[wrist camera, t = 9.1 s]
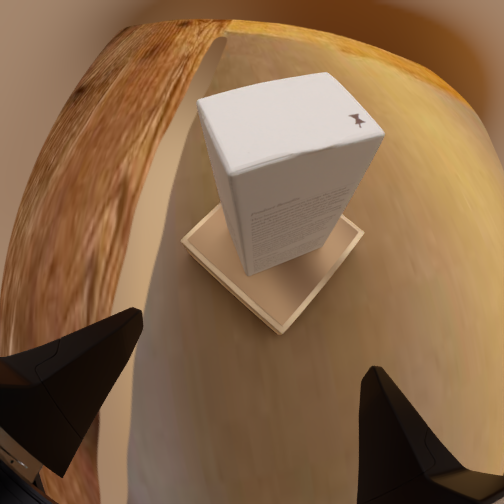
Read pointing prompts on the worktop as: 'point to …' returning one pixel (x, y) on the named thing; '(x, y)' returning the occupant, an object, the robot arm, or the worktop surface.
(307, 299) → the plinth
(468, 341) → the worktop surface
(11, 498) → the robot arm
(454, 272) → the worktop surface
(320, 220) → the skincare box
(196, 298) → the worktop surface
